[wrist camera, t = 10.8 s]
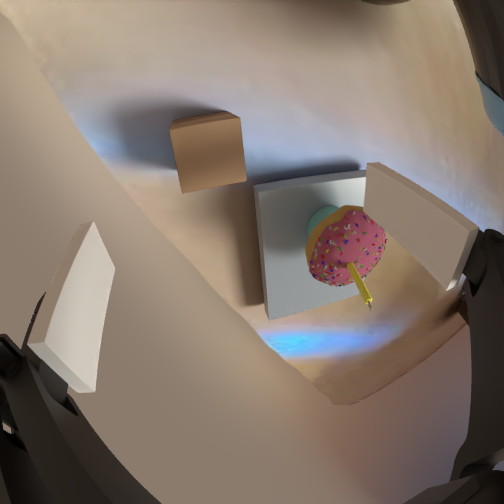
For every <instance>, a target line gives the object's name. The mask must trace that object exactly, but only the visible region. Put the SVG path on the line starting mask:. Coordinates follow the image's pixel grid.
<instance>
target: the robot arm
mask: <svg viewBox="0 0 504 504" xmlns="http://www.w3.org/2000/svg"><path fill="white" fill-rule="evenodd" d="M362 1H365V2H368V3H372V4H376V5H393V4H399V3H404V2H407V1H409V0H362ZM453 2H454V5H455V7H456V9H457V12H458V14H459V17H460V19H461V22H462V25H463V28H464V31H465V34H466V37H467V40H468V43H469V46H470V50H471V53H472V57H473V61H474V65H475V69H476V70H475V75H476V79H477V81H478V82H479V85H480V89H481V94H482V99H483V104H484V108H485V111H486V113H487V116H488V118H489V119H490V121H491V122H492V124H493V125H494V126H495V128H496V129H497V130H498V131H499V132H500V133H501V134H502V135H503V136H504V0H453ZM363 212H364V213H366V214H367V215H368V216H369V217H370V218H372V219H373V220H374V221H375V222H376V223H377V224H378V225H380V226H381V227H382V228H383V229H384V230H385V231H386V232H387V233H389V234H390V235H391V236H392V237H393V238H394V239H395V240H396V241H397V242H398V243H399V244H401V245H402V246H403V247H404V248H405V249H406V250H407V251H408V252H409V253H410V254H411V255H412V256H413V257H414V258H415V259H416V260H417V261H418V262H419V263H420V264H421V265H422V266H423V267H424V268H425V269H426V270H427V271H428V272H429V273H430V274H431V275H432V276H433V277H434V278H435V279H436V280H437V281H438V282H439V283H440V284H441V285H442V286H443V288H444V289H445V290H446V291H447V290H449V289H450V288H452V287H454V286H456V285H457V284H458V282H459V279H460V277H461V275H462V273H463V274H464V275H465V276H466V279H465V281H464V283H463V286H462V288H461V290H460V292H459V294H458V298H457V299H460V297H461V295H462V294H463V293H465V295H464V297H463V299H462V300H465V301H466V302H467V309H468V317H469V327H470V338H471V360H472V384H471V387H472V388H471V405H470V418H469V427H468V434H467V438H466V440H465V442H464V443H463V445H462V446H461V448H460V449H459V451H458V453H457V455H456V458H455V461H454V466H453V470H452V474H451V478H450V482H448V483H446V484H443V485H439V486H435V487H431V488H427V489H426V490H424V491H423V492H421V493H420V494H418V495H417V496H415V497H413V498H412V499H410V500H408V501H407V502H405V503H404V504H504V471H500V470H492V469H493V468H494V466H495V465H496V464H497V463H499V462H500V461H503V460H504V235H503V234H501V233H500V232H498V231H496V230H493V229H486V230H485V231H484V233H483V232H482V231H481V230H480V229H479V227H478V226H477V225H476V224H474V223H473V222H472V221H470V220H469V219H468V218H466V217H465V216H464V215H462V214H461V213H460V212H458V211H457V210H455V209H454V208H453V207H451V206H450V205H448V204H447V203H445V202H444V201H442V200H441V199H439V198H438V197H436V196H435V195H433V194H432V193H430V192H429V191H427V190H426V189H424V188H422V187H421V186H419V185H418V184H416V183H414V182H413V181H411V180H409V179H408V178H406V177H404V176H402V175H401V174H399V173H397V172H395V171H394V170H392V169H390V168H388V167H386V166H385V165H383V164H381V163H379V162H375V163H367V170H366V185H365V197H364V207H363ZM114 272H115V267H114V265H113V263H112V261H111V259H110V257H109V255H108V252H107V250H106V248H105V246H104V244H103V241H102V239H101V237H100V235H99V232H98V230H97V228H96V225H95V223H94V221H91V222H88V223H85V224H82V225H80V226H79V228H78V229H77V231H76V233H75V235H74V236H73V238H72V240H71V242H70V244H69V246H68V248H67V249H66V251H65V253H64V255H63V257H62V259H61V261H60V263H59V265H58V267H57V269H56V272H55V274H54V276H53V278H52V280H51V282H50V285H49V287H48V289H47V291H46V292H45V293H44V295H43V296H42V297H41V299H40V300H39V302H38V304H37V306H36V309H35V311H34V314H33V316H32V319H31V323H30V324H29V327H28V330H27V333H26V336H25V339H24V342H23V345H22V348H21V350H20V349H19V348H18V346H17V345H16V344H15V343H14V342H13V341H12V340H11V339H10V338H9V337H8V335H6V334H0V504H161V503H160V502H159V501H158V500H157V499H156V498H155V497H153V495H151V494H150V493H149V492H148V491H147V490H146V489H145V488H144V487H143V486H142V485H141V484H140V483H139V482H138V481H137V480H136V479H135V478H134V477H133V476H132V475H131V474H130V473H129V472H128V470H127V469H126V468H125V467H124V466H123V465H122V464H121V463H120V462H119V460H118V459H117V458H116V457H115V456H114V455H113V454H112V452H111V451H110V450H109V449H108V447H107V446H106V445H105V444H104V442H103V441H102V440H101V439H100V437H99V436H98V435H97V433H96V432H95V431H94V429H93V428H92V427H91V425H90V424H89V422H88V421H87V419H86V418H85V416H84V415H83V414H82V412H81V411H80V409H79V408H78V406H77V405H76V403H75V401H74V400H73V398H72V397H71V396H70V395H69V394H68V393H67V388H68V385H69V386H70V387H72V388H73V389H74V390H75V391H76V392H78V393H86V392H95V388H96V376H97V367H98V359H99V351H100V344H101V337H102V331H103V325H104V319H105V314H106V309H107V304H108V299H109V294H110V290H111V285H112V280H113V276H114ZM2 422H3V423H4V424H6V425H8V426H9V427H10V428H11V434H10V433H8V432H6V431H5V430H3V425H2Z"/></svg>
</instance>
